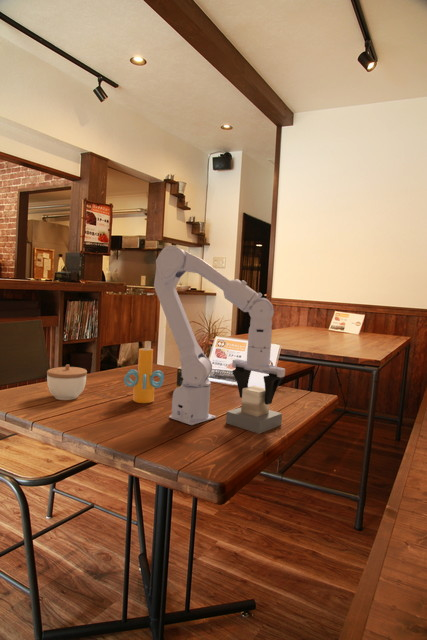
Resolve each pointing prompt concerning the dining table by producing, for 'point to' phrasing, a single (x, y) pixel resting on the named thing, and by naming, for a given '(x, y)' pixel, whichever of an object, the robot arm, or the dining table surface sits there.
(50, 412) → the dining table surface
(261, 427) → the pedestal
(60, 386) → the lidded jar
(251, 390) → the cream block
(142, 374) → the cylinder
